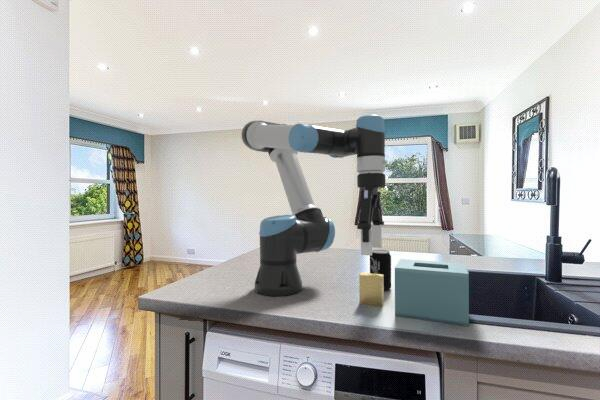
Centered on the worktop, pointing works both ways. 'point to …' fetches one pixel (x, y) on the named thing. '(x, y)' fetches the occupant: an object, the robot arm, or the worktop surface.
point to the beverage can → (381, 266)
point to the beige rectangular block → (371, 289)
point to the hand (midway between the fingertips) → (372, 251)
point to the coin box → (432, 291)
